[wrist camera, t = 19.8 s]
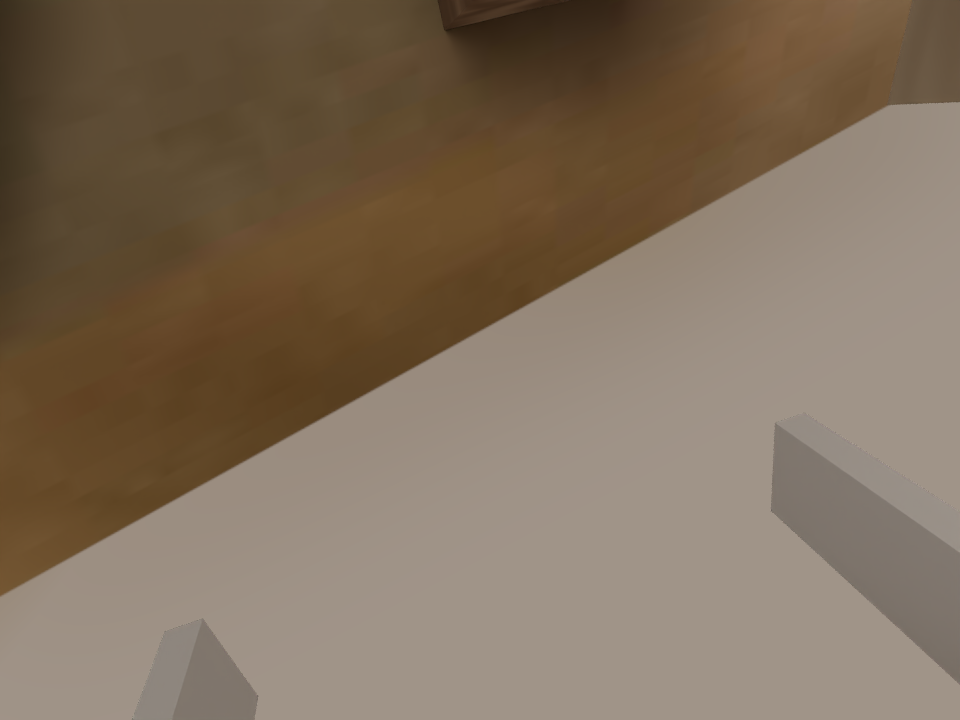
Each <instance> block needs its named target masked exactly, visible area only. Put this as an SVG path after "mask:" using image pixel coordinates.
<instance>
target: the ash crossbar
mask: <svg viewBox="0 0 960 720" xmlns="http://www.w3.org/2000/svg"><path fill="white" fill-rule="evenodd" d="M944 102H960V0H912V4H911V8H910V12H909V17H908V21H907V25H906V29H905V33H904V37H903V41H902V46H901V50H900V54H899V58H898V62H897V66H896V71H895V75H894V79H893V83H892V87H891V91H890V95H889V100H888V104H887V105H895V104H896V105H897V104H919V103H920V104H922V103H944Z"/></svg>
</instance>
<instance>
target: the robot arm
mask: <svg viewBox="0 0 960 720" xmlns="http://www.w3.org/2000/svg"><path fill="white" fill-rule="evenodd" d="M771 502H772V503H771V511H772V512H773V513H774V514H775V515H776V516H777V517H778V518H779V519H781V520H782V521H783V522H784V523H785V524H786V525H787V526H788V527H789V528H790V529H791V530H792V531H793V532H795V533H796V534H797V535H798V536H799V537H800V538H801V539H802V540H803V541H804V542H805V543H807V544H808V545H809V546H810V547H811V548H812V549H813V550H814V551H815V552H816V553H817V554H819V555H820V556H821V557H822V558H823V559H824V560H825V561H826V562H827V563H828V564H829V565H831V566H832V567H833V568H834V569H835V570H836V571H837V572H838V573H839V574H840V575H841V576H842V577H844V578H845V579H846V580H847V581H848V582H849V583H850V584H851V585H852V586H853V587H854V588H855V589H857V590H858V591H859V592H860V593H861V594H862V595H863V596H864V597H865V598H866V599H867V600H869V601H870V602H871V603H872V604H873V605H874V606H875V607H876V608H877V609H878V610H879V611H880V612H882V613H883V614H884V615H885V616H886V617H887V618H888V619H889V620H890V621H891V622H893V623H894V624H895V625H896V626H897V627H898V628H899V629H901V631H902V632H904V634H905V635H907V636H908V637H909V638H910V639H911V640H912V641H913V642H914V643H915V644H916V645H917V646H919V647H920V648H921V649H922V650H923V651H924V652H925V653H926V654H927V655H929V656H930V657H931V658H932V659H933V660H934V661H935V662H936V663H937V664H938V665H939V666H940V667H942V669H944V670H945V671H946V672H947V673H948V674H949V675H950V676H951V677H952V678H953V679H954V680H956V681H957V682H958V683H959V684H960V511H958V510H957V509H955V508H954V507H952V506H951V505H949V504H947V503H946V502H944V501H943V500H941V499H940V498H938V497H936V496H935V495H933V494H932V493H930V492H929V491H927V490H925V489H924V488H922V487H921V486H919V485H918V484H916V483H914V482H913V481H911V480H910V479H908V478H906V477H905V476H903V475H902V474H900V473H899V472H897V471H895V470H894V469H892V468H891V467H889V466H888V465H886V464H884V463H882V462H881V461H880V460H878V459H877V458H875V457H873V456H872V455H870V454H869V453H867V452H865V451H864V450H862V449H861V448H859V447H857V446H856V445H855V444H853V443H851V442H850V441H848V440H847V439H845V438H843V437H842V436H840V435H839V434H837V433H836V432H834V431H832V430H831V429H829V428H828V427H826V426H824V425H823V424H821V423H820V422H818V421H817V420H815V419H814V418H812V417H810V416H809V415H807V414H806V413H802V414H799V415H796V416H793V417H790V418H787V419H785V420H782V421H779V422H776V423H775V432H774V456H773V478H772V501H771ZM257 700H258V695H257V694H256V693H255V691H254V690H253V688H252V687H251V685H250V684H249V683H248V682H247V680H246V678H245V677H244V676H243V674H242V673H241V672H240V670H239V669H238V667H237V666H236V664H235V663H234V662H233V660H232V659H231V657H230V656H229V655H228V653H227V652H226V651H225V649H224V648H223V646H222V645H221V644H220V642H219V641H218V639H217V638H216V636H215V635H214V634H213V632H212V631H211V629H210V628H209V627H208V626H207V624H206V622H205V621H204V620H203V619H200V620H197V621H194V622H191V623H188V624H186V625H182V626H179V627H177V628H174V629H171V630H168V631H165V632H164V635H163V638H162V640H161V643H160V646H159V649H158V651H157V654H156V657H155V659H154V662H153V665H152V667H151V670H150V673H149V676H148V678H147V681H146V683H145V686H144V689H143V692H142V694H141V697H140V700H139V702H138V705H137V708H136V710H135V713H134V716H133V718H132V720H254V717H255V712H256V706H257Z"/></svg>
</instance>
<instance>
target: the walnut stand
mask: <svg viewBox="0 0 960 720" xmlns="http://www.w3.org/2000/svg"><path fill="white" fill-rule="evenodd" d="M565 1H569V0H438V3H439V7H440V12H441V16H442V21H443V26H444V30H448V29H452V28H456V27H460V26H465V25H469V24H473V23H477V22H481V21H485V20H490V19H494V18H498V17H502V16H506V15H511V14H515V13H519V12H523V11H527V10H532V9H536V8H540V7H544V6H548V5H553V4H557V3H561V2H565Z"/></svg>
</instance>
